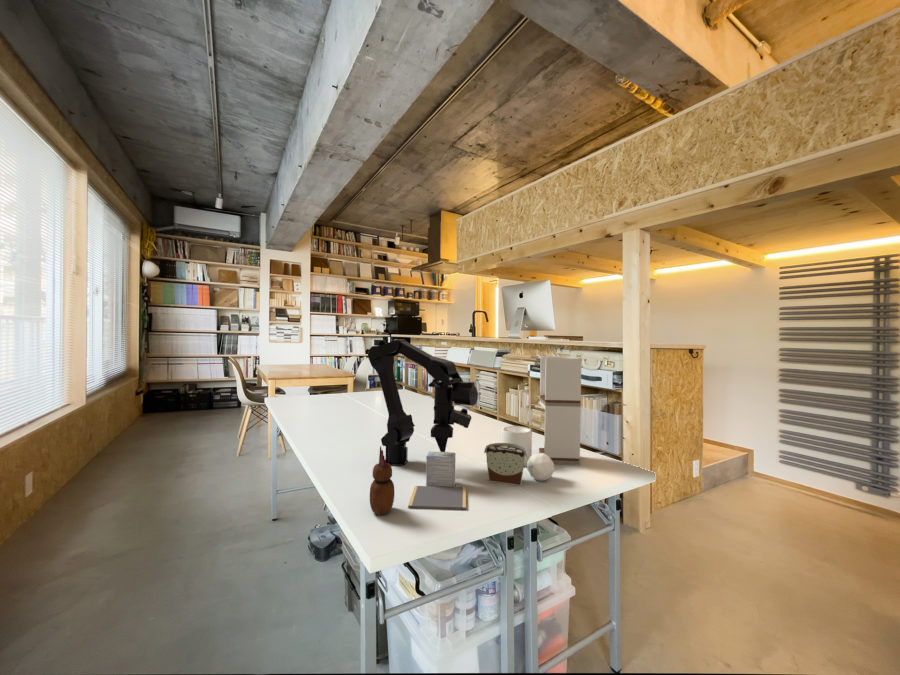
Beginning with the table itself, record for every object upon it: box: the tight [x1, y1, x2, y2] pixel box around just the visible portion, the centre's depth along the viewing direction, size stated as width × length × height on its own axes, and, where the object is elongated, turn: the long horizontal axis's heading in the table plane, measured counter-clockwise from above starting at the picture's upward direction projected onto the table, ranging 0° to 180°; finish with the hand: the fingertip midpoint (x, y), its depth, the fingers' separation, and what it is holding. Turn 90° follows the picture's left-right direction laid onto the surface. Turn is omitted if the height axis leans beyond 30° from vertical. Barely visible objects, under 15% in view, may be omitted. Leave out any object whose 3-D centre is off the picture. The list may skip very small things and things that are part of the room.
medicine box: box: [425, 451, 456, 487], centre depth 106 cm, size 8×4×9 cm, turn 84°
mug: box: [500, 425, 533, 467], centre depth 128 cm, size 14×10×11 cm
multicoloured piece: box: [483, 442, 527, 486], centre depth 110 cm, size 12×6×10 cm, turn 71°
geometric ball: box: [526, 452, 555, 481], centre depth 111 cm, size 8×8×8 cm
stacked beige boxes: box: [538, 355, 582, 466], centre depth 129 cm, size 11×11×35 cm
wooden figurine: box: [369, 446, 395, 516], centre depth 89 cm, size 7×6×15 cm
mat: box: [407, 485, 467, 511], centre depth 97 cm, size 14×12×1 cm
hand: (443, 453), depth 114 cm, fingers closed
